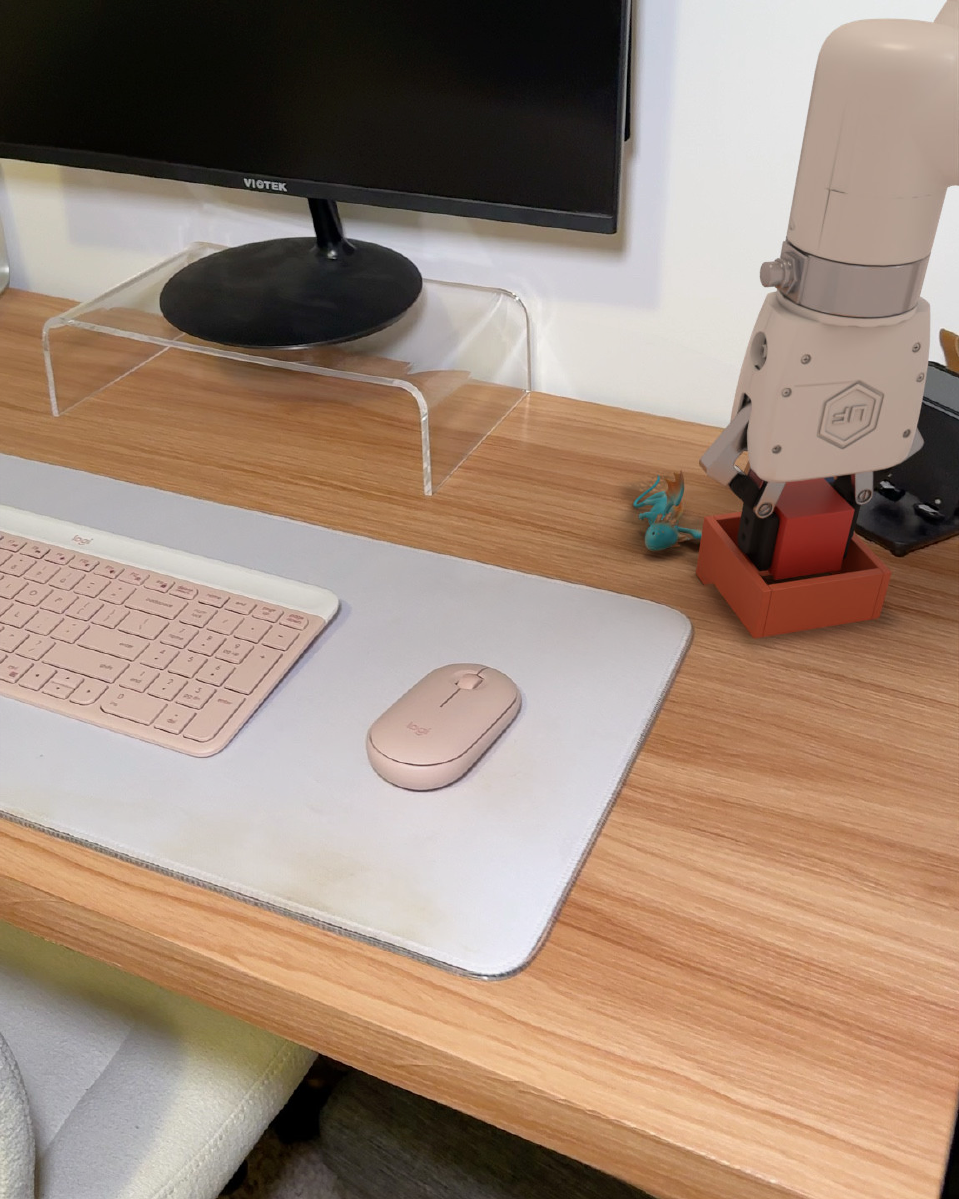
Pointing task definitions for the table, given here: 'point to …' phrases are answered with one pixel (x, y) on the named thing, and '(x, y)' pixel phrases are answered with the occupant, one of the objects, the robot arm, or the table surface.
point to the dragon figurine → (665, 516)
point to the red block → (810, 529)
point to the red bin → (789, 585)
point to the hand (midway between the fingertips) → (792, 551)
